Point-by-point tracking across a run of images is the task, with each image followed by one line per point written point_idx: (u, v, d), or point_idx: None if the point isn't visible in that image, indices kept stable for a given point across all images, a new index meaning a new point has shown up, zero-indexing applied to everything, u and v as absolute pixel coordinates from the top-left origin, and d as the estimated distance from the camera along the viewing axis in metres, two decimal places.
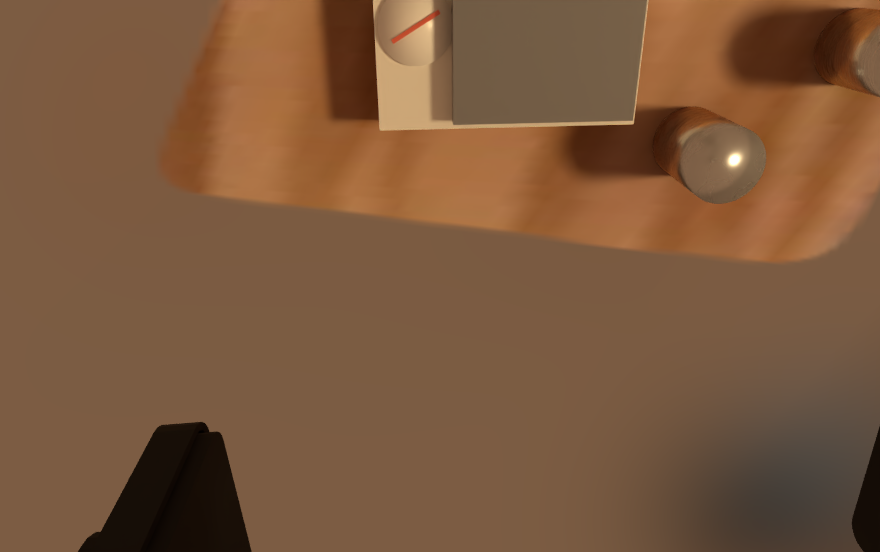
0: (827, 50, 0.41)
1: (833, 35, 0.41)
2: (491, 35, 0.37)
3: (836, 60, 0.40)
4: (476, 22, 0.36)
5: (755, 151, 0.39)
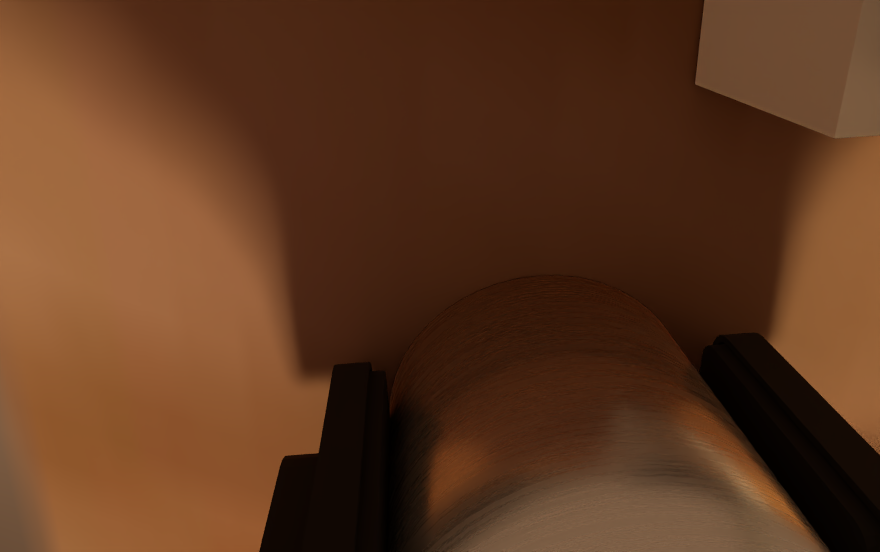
0: None
1: None
2: None
3: None
4: None
5: None
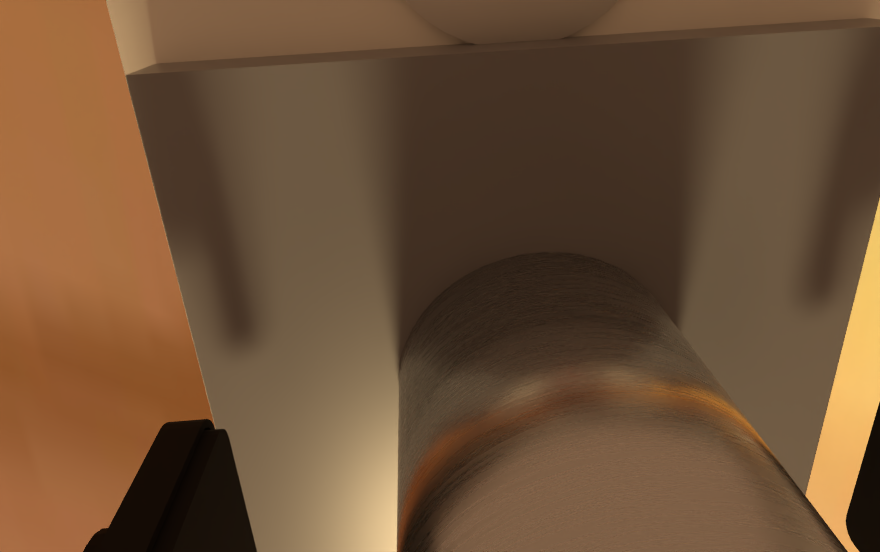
0: None
1: None
2: (500, 202, 0.10)
3: None
4: (547, 143, 0.09)
5: None
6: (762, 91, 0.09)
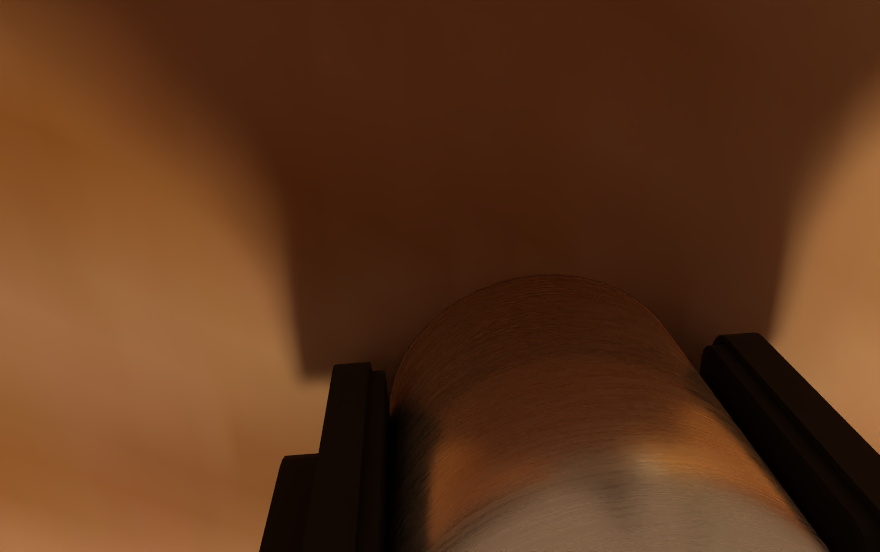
0: (558, 319, 0.08)
1: (626, 326, 0.08)
2: None
3: (538, 373, 0.07)
4: None
5: None
6: None
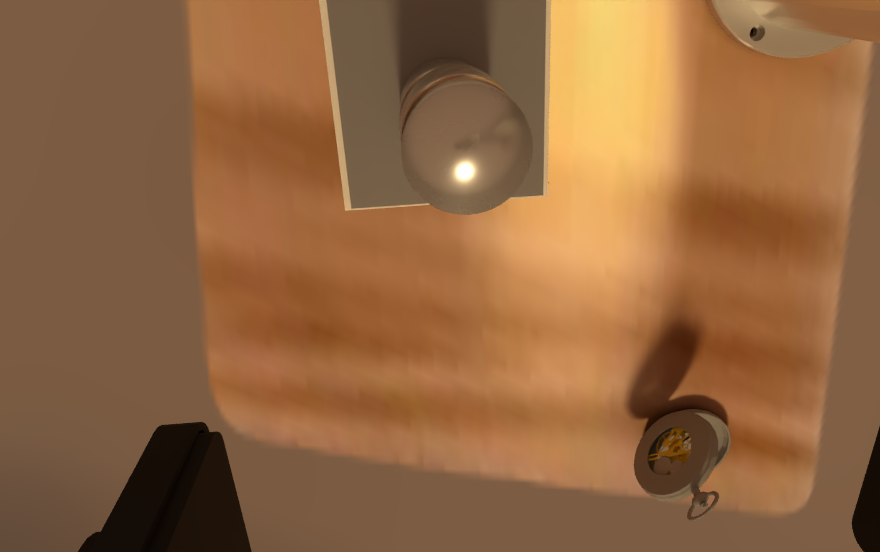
0: (455, 67, 0.27)
1: (477, 70, 0.27)
2: (430, 38, 0.33)
3: (445, 72, 0.26)
4: (443, 20, 0.33)
5: None
6: (504, 4, 0.33)
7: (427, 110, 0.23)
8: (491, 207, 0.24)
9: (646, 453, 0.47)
